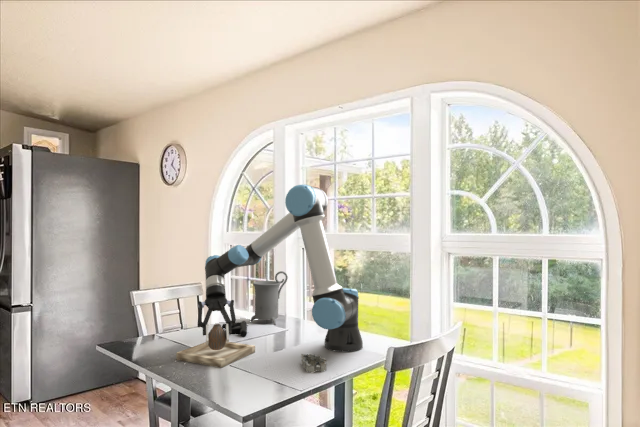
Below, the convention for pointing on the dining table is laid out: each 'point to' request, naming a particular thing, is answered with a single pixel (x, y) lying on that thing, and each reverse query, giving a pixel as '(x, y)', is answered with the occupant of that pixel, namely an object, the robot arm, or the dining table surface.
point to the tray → (215, 354)
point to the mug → (267, 298)
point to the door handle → (238, 328)
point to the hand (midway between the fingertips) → (217, 341)
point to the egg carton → (313, 362)
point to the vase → (217, 337)
